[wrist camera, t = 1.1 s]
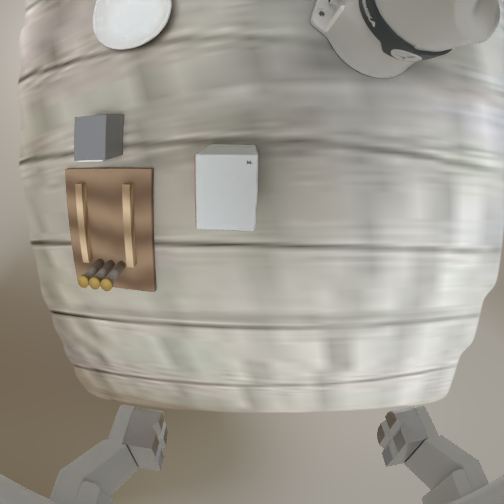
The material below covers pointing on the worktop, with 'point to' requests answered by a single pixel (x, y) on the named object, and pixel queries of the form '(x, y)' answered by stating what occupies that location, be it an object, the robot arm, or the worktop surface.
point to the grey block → (98, 137)
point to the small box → (226, 187)
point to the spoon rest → (129, 21)
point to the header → (112, 227)
